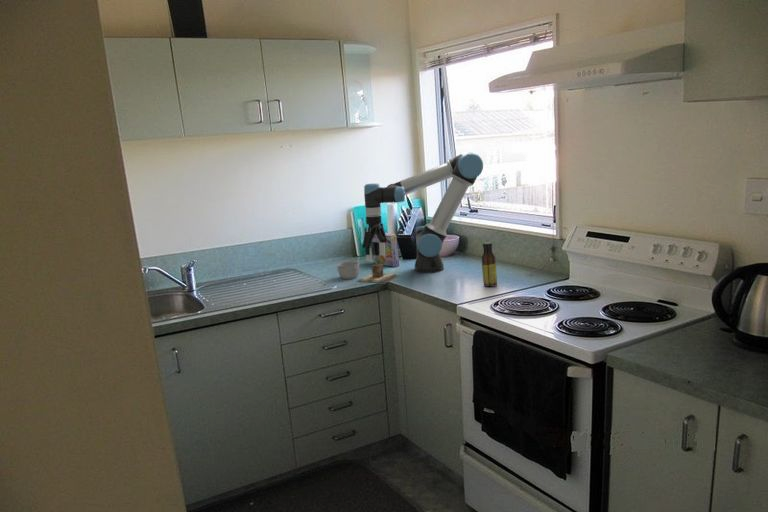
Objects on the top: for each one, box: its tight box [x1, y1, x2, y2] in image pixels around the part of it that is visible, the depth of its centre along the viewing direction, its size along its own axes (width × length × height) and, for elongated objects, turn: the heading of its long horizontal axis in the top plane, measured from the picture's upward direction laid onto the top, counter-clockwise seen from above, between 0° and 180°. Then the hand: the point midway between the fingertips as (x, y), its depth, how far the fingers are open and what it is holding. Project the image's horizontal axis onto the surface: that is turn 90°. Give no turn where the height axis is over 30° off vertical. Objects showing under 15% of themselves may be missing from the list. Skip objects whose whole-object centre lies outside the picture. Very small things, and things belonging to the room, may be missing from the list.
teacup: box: [337, 260, 360, 280], centre depth 294 cm, size 14×11×8 cm
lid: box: [359, 263, 396, 284], centre depth 286 cm, size 13×13×7 cm
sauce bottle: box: [481, 241, 498, 287], centre depth 259 cm, size 6×6×20 cm
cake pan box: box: [370, 232, 400, 267], centre depth 316 cm, size 19×5×18 cm, turn 37°
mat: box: [356, 274, 400, 285], centre depth 287 cm, size 16×16×1 cm
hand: (375, 258), depth 285 cm, fingers open, 13 cm apart
